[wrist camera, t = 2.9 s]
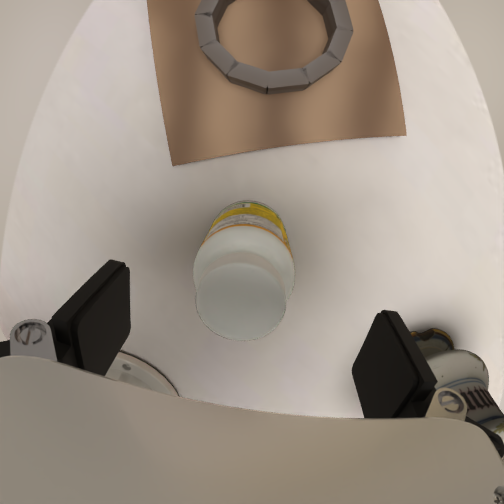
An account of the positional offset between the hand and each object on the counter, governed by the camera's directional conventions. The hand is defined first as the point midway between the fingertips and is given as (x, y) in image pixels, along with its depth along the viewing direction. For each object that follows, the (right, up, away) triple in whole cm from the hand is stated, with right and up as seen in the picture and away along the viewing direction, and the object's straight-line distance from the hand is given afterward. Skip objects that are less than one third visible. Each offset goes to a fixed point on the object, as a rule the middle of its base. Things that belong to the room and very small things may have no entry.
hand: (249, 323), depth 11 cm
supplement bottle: (0, +4, +12) cm, 12 cm away
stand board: (+2, +17, +6) cm, 18 cm away
